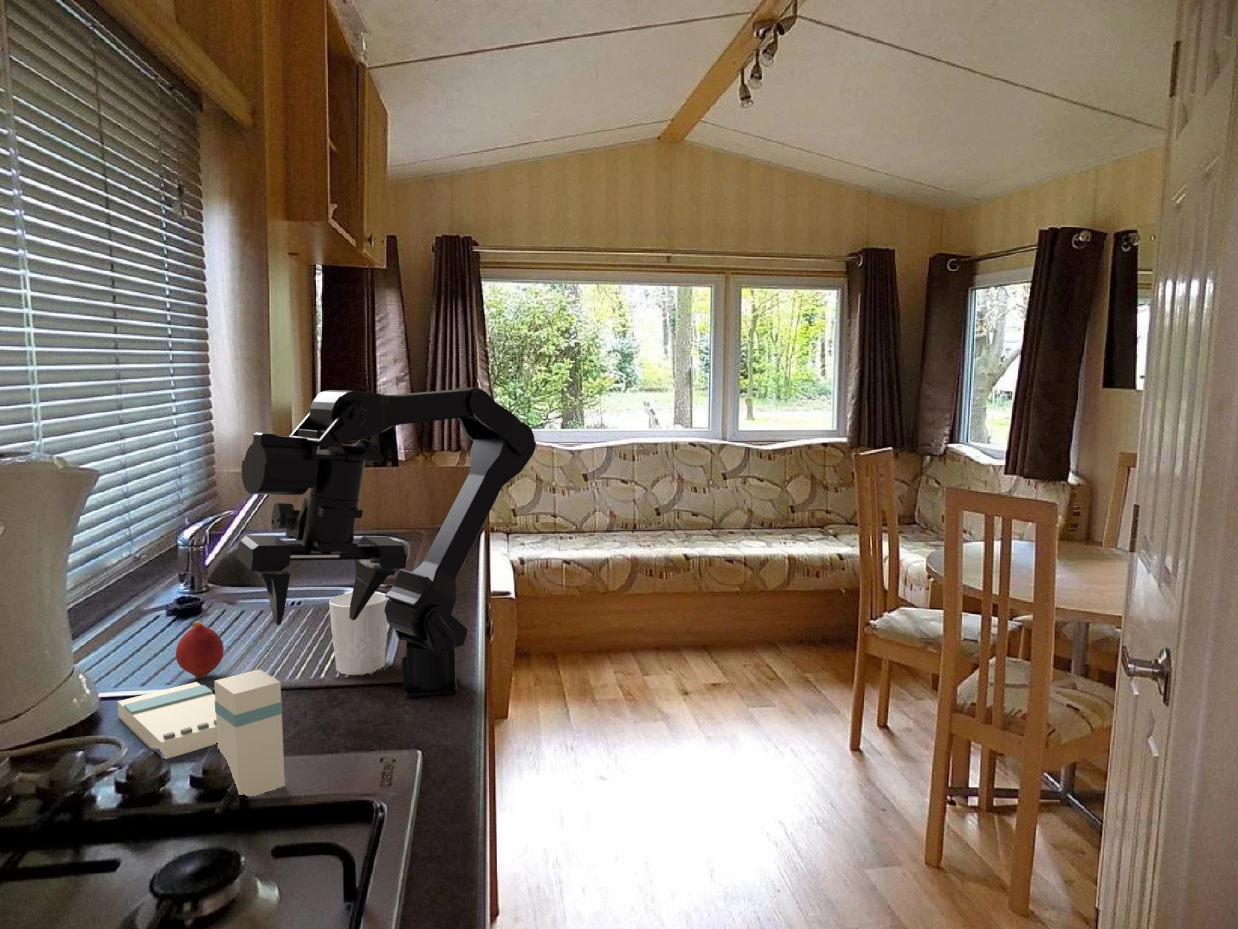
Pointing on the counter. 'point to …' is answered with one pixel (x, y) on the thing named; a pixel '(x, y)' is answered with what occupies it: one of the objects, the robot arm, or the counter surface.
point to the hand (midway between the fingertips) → (315, 621)
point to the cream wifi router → (173, 718)
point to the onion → (199, 650)
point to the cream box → (251, 730)
